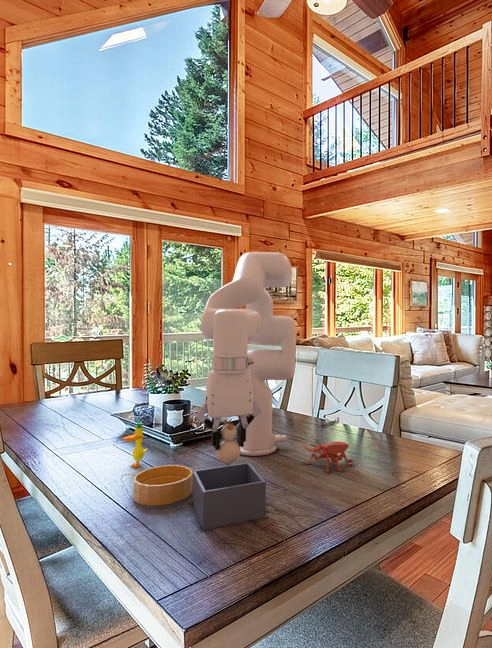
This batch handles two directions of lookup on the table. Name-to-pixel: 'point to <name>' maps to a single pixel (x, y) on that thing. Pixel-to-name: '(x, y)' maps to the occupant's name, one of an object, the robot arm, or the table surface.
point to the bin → (228, 495)
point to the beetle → (330, 450)
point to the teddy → (228, 444)
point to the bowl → (162, 485)
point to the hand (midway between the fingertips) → (228, 446)
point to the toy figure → (137, 444)
